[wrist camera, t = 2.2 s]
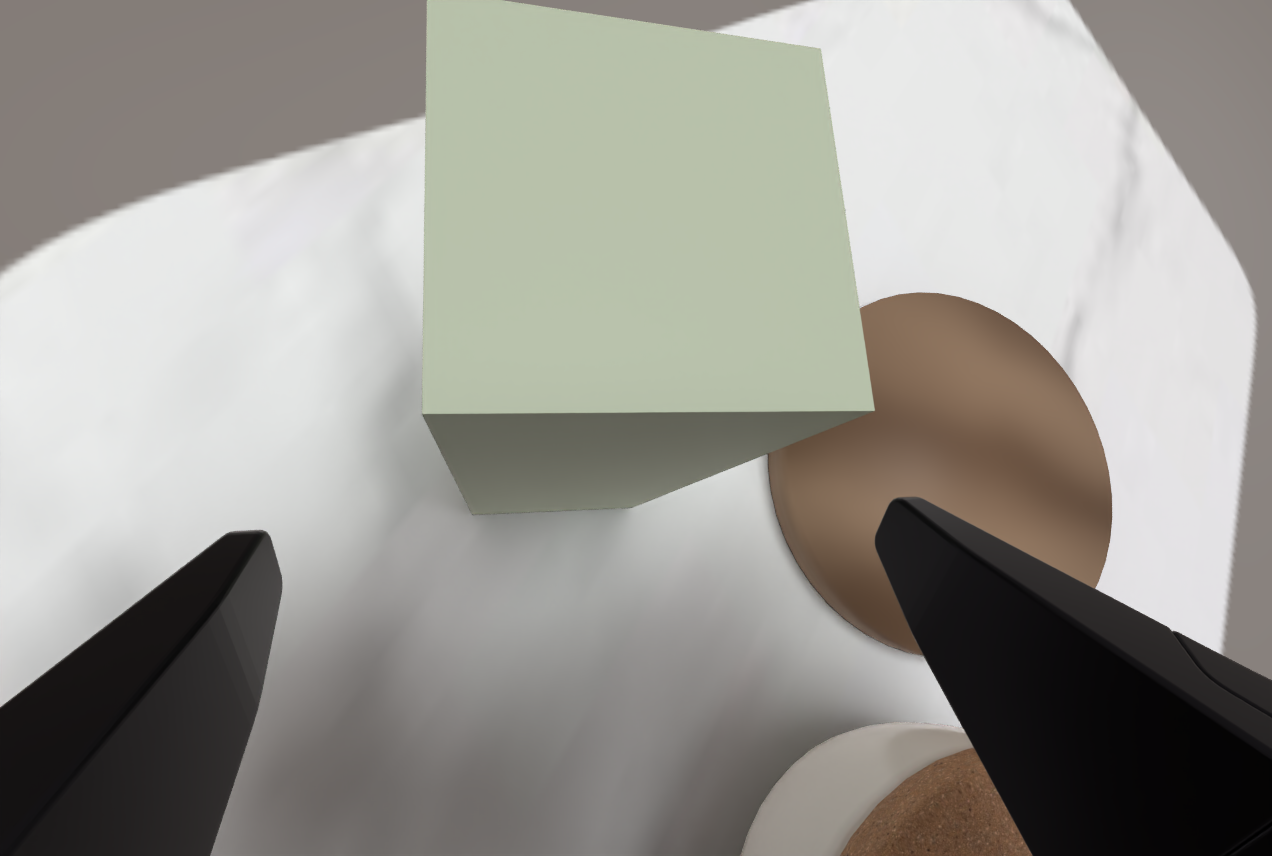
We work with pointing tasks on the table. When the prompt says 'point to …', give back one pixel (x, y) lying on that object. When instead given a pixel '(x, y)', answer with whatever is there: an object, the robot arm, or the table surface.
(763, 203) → the post
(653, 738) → the table surface
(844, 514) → the disc
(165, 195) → the table surface
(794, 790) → the lidded jar
